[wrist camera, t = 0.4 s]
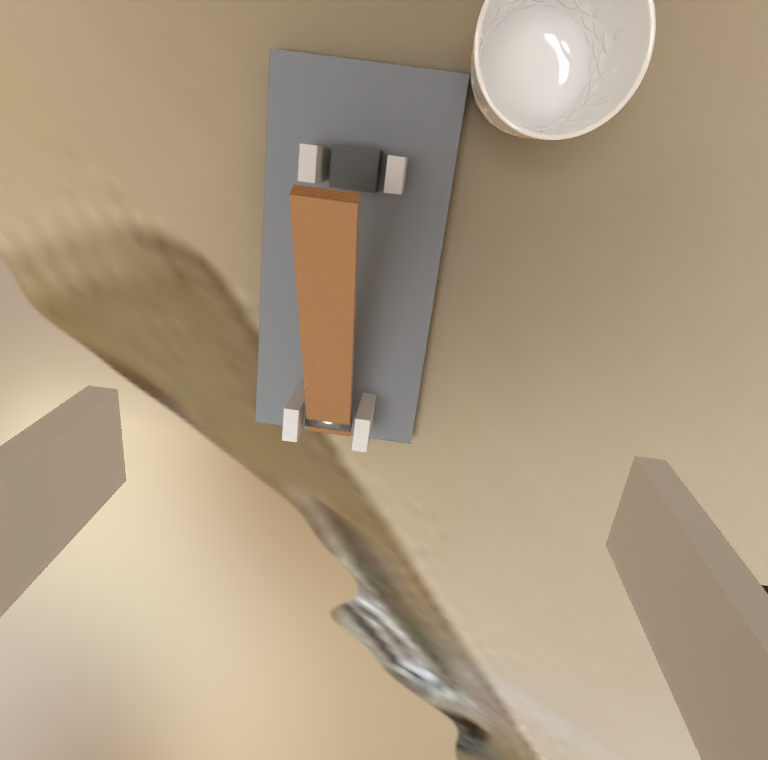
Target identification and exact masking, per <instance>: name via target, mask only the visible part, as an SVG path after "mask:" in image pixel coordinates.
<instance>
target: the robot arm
mask: <svg viewBox="0 0 768 760" xmlns="http://www.w3.org/2000/svg"><path fill="white" fill-rule="evenodd" d="M125 481H126V474H125V464H124V454H123V443H122V431H121V421H120V411H119V400H118V390H117V389H111V388H103V387H94V386H87V387H86V388H84V389H83V390H81V391H80V392H78V393H77V394H76V395H74V396H73V397H71V398H70V399H68V400H67V401H65V402H64V403H62V404H61V405H59V406H58V407H57V408H55V409H54V410H53V411H51V412H49V413H48V414H46V415H45V416H44V417H42V418H41V419H39V420H38V421H36V422H35V423H33V424H32V425H31V426H29V427H28V428H26V429H25V430H23V431H22V432H20V433H19V434H18V435H16V436H15V437H13V438H12V439H10V440H9V441H7V442H6V443H4V444H3V445H1V446H0V617H1V616H2V615H3V614H4V613H5V612H6V611H7V610H8V608H9V607H10V606H11V605H12V604H13V603H14V602H15V601H16V600H17V599H18V598H19V597H20V595H21V594H22V593H23V592H24V591H25V590H26V589H27V588H28V587H29V586H30V585H31V584H32V582H33V581H34V580H35V579H36V578H37V577H38V576H39V575H40V574H41V572H42V571H43V570H44V569H45V568H46V567H47V566H48V565H49V564H50V563H51V561H53V560H54V558H55V557H56V556H57V555H58V554H59V553H60V552H61V551H62V550H63V549H64V547H65V546H66V545H67V544H68V543H69V542H70V541H71V540H72V539H73V538H74V537H75V536H76V535H77V533H78V532H79V531H80V530H81V529H82V528H83V527H84V526H85V525H86V524H87V523H88V521H89V520H90V519H91V518H92V517H93V516H94V515H95V514H96V513H97V512H98V511H99V509H100V508H101V507H102V506H103V505H104V504H105V503H106V502H107V501H108V500H109V499H110V498H111V496H112V495H113V494H114V493H115V492H116V491H117V490H118V489H119V487H121V486H122V484H123V483H124V482H125ZM606 547H607V549H608V551H609V553H610V556H611V558H612V560H613V562H614V565H615V567H616V569H617V571H618V573H619V576H620V578H621V580H622V582H623V585H624V587H625V589H626V591H627V594H628V596H629V598H630V600H631V603H632V605H633V607H634V609H635V612H636V614H637V616H638V618H639V621H640V623H641V625H642V627H643V630H644V632H645V634H646V636H647V638H648V641H649V643H650V645H651V647H652V650H653V652H654V654H655V656H656V659H657V661H658V663H659V665H660V668H661V670H662V672H663V674H664V677H665V679H666V681H667V683H668V686H669V688H670V690H671V692H672V695H673V697H674V699H675V701H676V704H677V706H678V708H679V710H680V712H681V715H682V717H683V719H684V721H685V724H686V726H687V728H688V730H689V733H690V735H691V737H692V739H693V742H694V744H695V746H696V748H697V751H698V753H699V755H700V757H701V760H768V586H764V585H761V584H760V583H759V582H758V580H757V579H756V578H755V576H754V575H753V574H752V573H751V571H750V570H749V569H748V567H747V566H746V565H745V563H744V562H743V561H742V559H741V558H740V557H739V555H738V554H737V553H736V552H735V550H734V549H733V548H732V546H731V545H730V544H729V542H728V541H727V540H726V538H725V537H724V536H723V534H722V533H721V532H720V531H719V529H718V528H717V527H716V525H715V524H714V523H713V521H712V520H711V519H710V517H709V516H708V515H707V514H706V512H705V511H704V510H703V508H702V507H701V506H700V504H699V503H698V502H697V500H696V499H695V498H694V496H693V495H692V494H691V493H690V491H689V490H688V489H687V487H686V486H685V485H684V483H683V482H682V481H681V479H680V478H679V477H678V475H677V474H676V473H675V472H674V470H673V469H672V468H671V466H670V465H669V464H668V462H667V461H666V460H660V459H652V458H645V457H637V456H635V457H634V460H633V463H632V466H631V470H630V473H629V476H628V479H627V482H626V485H625V488H624V491H623V494H622V497H621V500H620V503H619V506H618V509H617V512H616V515H615V518H614V521H613V524H612V527H611V531H610V534H609V537H608V540H607V543H606Z"/></svg>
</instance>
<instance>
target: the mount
mask: <svg viewBox="0 0 768 760" xmlns="http://www.w3.org/2000/svg"><path fill="white" fill-rule="evenodd" d="M469 76H470V74H467V73H459V72H451V71H443V70H436V69H428V68H420V67H412V66H404V65H397V64H389V63H381V62H373V61H365V60H358V59H350V58H342V57H334V56H326V55H319V54H311V53H303V52H295V51H287V50H279V49H272V48H270V60H269V86H268V112H267V138H266V165H265V191H264V217H263V243H262V270H261V296H260V322H259V348H258V375H257V401H256V422H261V423H268V424H275V425H282V426H283V433H282V440H284V441H291V442H297V440H298V438H299V436H300V434H301V432H302V430H303V429H307V426H305V416H306V405H305V392H304V379H303V366H302V353H301V340H300V326H299V313H298V300H297V287H296V274H295V261H294V248H293V235H292V222H291V209H290V195H289V194H290V192H291V190H292V187H293V185H294V184H295V185H302V186H310V187H317V188H325V189H332V190H340V191H347V192H355V193H360V216H359V241H358V267H357V292H356V318H355V343H354V369H353V394H352V415H353V425H352V430H351V433H350V435H352V436H353V444H352V450H354V451H361V452H367V447H368V442H369V438H372V439H379V440H386V441H393V442H400V443H407V444H411V440H412V434H413V428H414V421H415V415H416V409H417V402H418V396H419V390H420V384H421V377H422V371H423V365H424V359H425V352H426V346H427V340H428V333H429V327H430V321H431V315H432V308H433V302H434V296H435V290H436V283H437V277H438V271H439V264H440V258H441V252H442V246H443V239H444V233H445V227H446V221H447V214H448V208H449V202H450V195H451V189H452V183H453V177H454V170H455V164H456V158H457V151H458V145H459V139H460V133H461V126H462V120H463V114H464V108H465V101H466V95H467V89H468V82H469Z"/></svg>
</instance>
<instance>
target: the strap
mask: <svg viewBox="0 0 768 760" xmlns="http://www.w3.org/2000/svg"><path fill="white" fill-rule="evenodd" d="M289 195H290V209H291V222H292V235H293V248H294V261H295V274H296V287H297V300H298V313H299V326H300V340H301V353H302V366H303V379H304V392H305V405H306V416H305V426H307V430H309V431H316V432H323V433H329V434H336V435H343V436H350V433H351V430H352V425H353V415H352V394H353V369H354V343H355V318H356V292H357V267H358V241H359V216H360V193H355V192H347V191H340V190H332V189H325V188H317V187H310V186H302V185H295V184H294V185H293V187H292V190H291V192H290V194H289Z"/></svg>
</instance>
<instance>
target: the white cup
mask: <svg viewBox="0 0 768 760" xmlns="http://www.w3.org/2000/svg"><path fill="white" fill-rule="evenodd" d="M655 33H656V15H655V7H654V1H653V0H485V2H484V4H483V6H482V9H481V12H480V15H479V18H478V22H477V26H476V31H475V38H474V43H473V48H472V56H471V84H472V89H473V93H474V99H475V104H476V105H477V107H478V108H479V109H480V111H481V112H482V114H483V115H484V117H485V118H486V119H487V121H488V122H489V124H491V125H493V126H495V127H497V128H499V129H500V130H502V131H503V132H505V133H508V134H511V135H514V136H517V137H522V138H528V139H543V140H562V139H569V138H573V137H577V136H580V135H583V134H585V133H588V132H590V131H592V130H594V129H596V128H598V127H599V126H601V125H602V124H604V123H605V122H607V121H608V120H609V119H611V118H612V117H613V116H614V115H615V114H617V113H618V112H619V111H620V110H621V109H622V108H623V107H624V105H625V104H626V103H627V102H628V101H629V99H630V98H631V97H632V96H633V94H634V93H635V91H636V90H637V88H638V86H639V85H640V83H641V81H642V79H643V77H644V75H645V73H646V70H647V68H648V65H649V62H650V59H651V56H652V52H653V48H654V42H655Z"/></svg>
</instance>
